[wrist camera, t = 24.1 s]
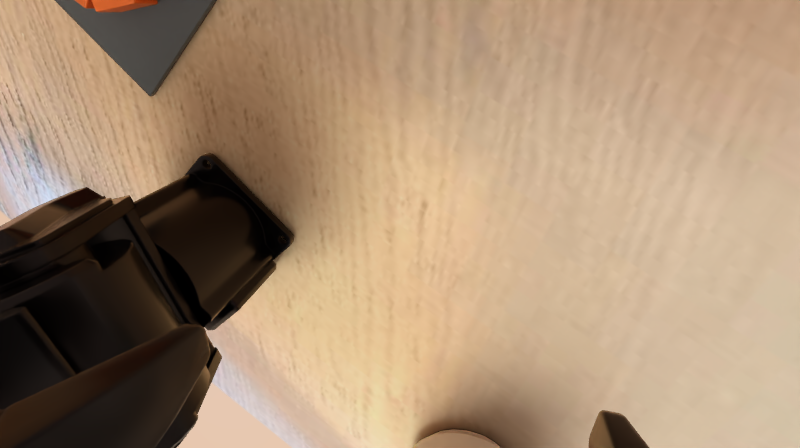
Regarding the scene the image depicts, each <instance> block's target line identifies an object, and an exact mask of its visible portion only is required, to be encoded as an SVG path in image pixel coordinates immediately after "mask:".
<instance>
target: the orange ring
mask: <svg viewBox="0 0 800 448" xmlns="http://www.w3.org/2000/svg"><path fill="white" fill-rule="evenodd" d="M75 1H76V2H78V3H79V4H80V5H82V6H83V7H84V8H95V10H96V12H125V11H129V10H133V9H138V8H142V7H147V6H151V5H155V4H158V1H157V0H75Z"/></svg>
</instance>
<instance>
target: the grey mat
mask: <svg viewBox="0 0 800 448" xmlns="http://www.w3.org/2000/svg"><path fill="white" fill-rule="evenodd" d="M55 1H56V2H57V3H58V4H59V5H60V6H61V7H62V8H63V9H64V10H65V11H66V12H67V13H68V14H69V15H70V16H71V17H72V18H73V19H74V20H75V21H76V22H77V23H78V24H79V25H80V26H81V27H82V28H83V29H84V30H85V31H86V32H87V33H88V34H89V35H90V36H91V37H92V38H93V39H94V40H95V41H96V42H97V43H98V44H99V45H100V47H101V48H102V49H103V50H104V51H105V52H106V53H107V54H108V55H109V56H110V57H111V58H112V59H113V60H114V61H115V62H116V63H117V64H118V65H119V66H120V67H121V68H122V69H123V70H124V71H125V72H126V73H127V74H128V75H129V76H130V77H131V78H132V79H133V80H134V81H135V82H136V83H137V84H138V85H139V86H140V87H141V88H142V89H143V90H144V91H145V92H146V93H147V94H148V95H149V96H153V95H154V94H155V93H156V91H157V90H158V88H159V87H160V85H161V84H162V82H163V81H164V79H165V78H166V76H167V75H168V73H169V72H170V70H171V68H172V67H173V65H174V64H175V62H176V61H177V59H178V58H179V56H180V55H181V53H182V52H183V50H184V49H185V47H186V46H187V44H188V43H189V41H190V40H191V38H192V37H193V35H194V34H195V32H196V31H197V29H198V28H199V26H200V25H201V23H202V21H203V20H204V18H205V17H206V15H207V14H208V12H209V11H210V9H211V8H212V6H213V5H214V3H215V2H216V0H157V1H158V4H155V5H151V6H147V7H142V8H138V9H133V10H129V11H125V12H96V10H95V8H84V7H83V6H82V5H80V4H79V3H78V2H76V1H75V0H55Z"/></svg>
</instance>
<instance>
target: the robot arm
mask: <svg viewBox="0 0 800 448" xmlns="http://www.w3.org/2000/svg"><path fill="white" fill-rule="evenodd" d="M207 161H209V162H210V164H211V166H209V164H208V163H207ZM281 236H283V237H284V238H285V239H286V241H285V240H283V239H282V237H281ZM293 241H294V237H293V234H292V233H291V232H290V231H289V230H288V229H287V228H286V227H285V226H284V225H283V224H282V223H281V222H280V221H279V220H278V219H277V218H276V217H275V216H274V215H273V214H272V212H271V211H270V210H269V209H268V208H267V207H266V206H265V205H264V204H263V203H262V202H261V201H260V200H259V199H258V198H257V197H256V196H255V195H254V194H253V193H252V192H251V191H250V190H249V189H248V188H247V187H246V186H245V185H244V184H243V183H242V182H241V181H240V180H239V179H238V178H237V177H236V176H235V175H234V174H233V173H232V172H231V171H230V170H229V169H228V168H227V167H226V166H225V165H224V164H223V163H222V162H221V161H220V160H219V159H218V158H217V157H216V156H215V155H213V154H211V153H207V154H205V155H202V156H201V157H199V159H198V160H197V161H196V162H195V163H194V165H193V166H192V167H191V168H190V170H189V171H188V172H187V173H186V174H185V176H184V177H183V178H181V179H179V180H177V181H175V182H173V183H171V184H169V185H167V186H165V187H163V188H161V189H159V190H157V191H155V192H153V193H151V194H149V195H147V196H145V197H143V198H141V199H139V200H137V201H135V202H133V200H132V199H131V197H130V195H129V196H124V197H120V198H116V199H111V198H107V199H106V197H105V196H101V195H99V194H97V193H96V192H94V191H92V190H91V189H89V188H87V187H86V188H82V189H78V190H75V191H73V192H70V193H68V194H65V195H63V196H60V197H58V198H56V199H53V200H51V201H48V202H46V203H44V204H41V205H39V206H37V207H35V208H33V209H31V210H29V211H27V212H25V213H23V214H21V215H19V216H18V217H16V218H14V219H12V220H11V221H9V222H7V223H5V224H4V225H2V226H0V448H176V447H177V446H178V445H179V444H180V443H181V442H182V441H183V439H184V438H185V437H186V435H187V434H188V433H189V431H190V430H191V429H192V428H193V427H194V425H195V423H196V421H197V419H198V415H197V414H198V412H199V409H200V407H201V405H202V402H203V400H204V398H205V395H206V393H207V391H208V389H209V386H210V384H211V382H212V379H213V377H214V375H215V373H216V370H217V368H218V366H219V363H220V361H221V359H222V356H221V354H220V353H219V351H218V349H217V348H214V347H213V345H212V343H211V341H210V340H209V338H208V336H207V334H206V331H205V329H204V327H205V328H206V329H207V330H215V329H216V328H217V327H218V326H220V325H221V324H222V323H223V322H225V321H226V320H227V319H228V318H230V317H231V316H232V315H233V314H234V313H236V312H237V311H238V310H239V309H240V308H241V307H242V306H243V305H244V304H245V303H246V301H247V300H248V299H249V298H250V297H251V296H252V295H253V294H254V293H255V292H256V290H257V289H258V288H259V287H260V286H261V285H262V284H263V283H264V282H265V281H266V279H267V278H268V277H269V276H270V275H271V274H272V273H273V272H274V271H275V270H276V263H275V262H274V261H273V260H274V259H275V258H276V257H277V256H278V255H280V254H281V253H282V252H283V251H284V250H285V249H287V248H288V247H289V246H290V245H291V244H292V242H293ZM589 448H649V447H648V446H647V444H646V443H645V442H644V440H643V439H642V438H641V437H640V435H639V434H638V433H637V431H636V430H635V429H634V428H633V426H632V425H631V424H630V422H629V421H628V420H627V419H626V417H625V416H623V415H622V414H619V413H615V412H610V411H605V410H602V411H600V412H599V414H598V416H597V419H596V421H595V424H594V426H593V429H592V432H591V434H590V438H589Z"/></svg>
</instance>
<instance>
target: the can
mask: <svg viewBox="0 0 800 448" xmlns="http://www.w3.org/2000/svg"><path fill="white" fill-rule="evenodd" d="M413 448H500V447H499V446H498V445H497V444H496V443H495V442H494V441H492V440H490V439H488V438H487V437H485V436H483V435H480V434H477V433H474V432H471V431H466V430H457V429H452V430H444V431H440V432H437V433H435V434H433V435H431V436H428V437H426V438H424V439H421V440H419V441H418V442H417V443H416V444H415V445H414V447H413Z"/></svg>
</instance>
